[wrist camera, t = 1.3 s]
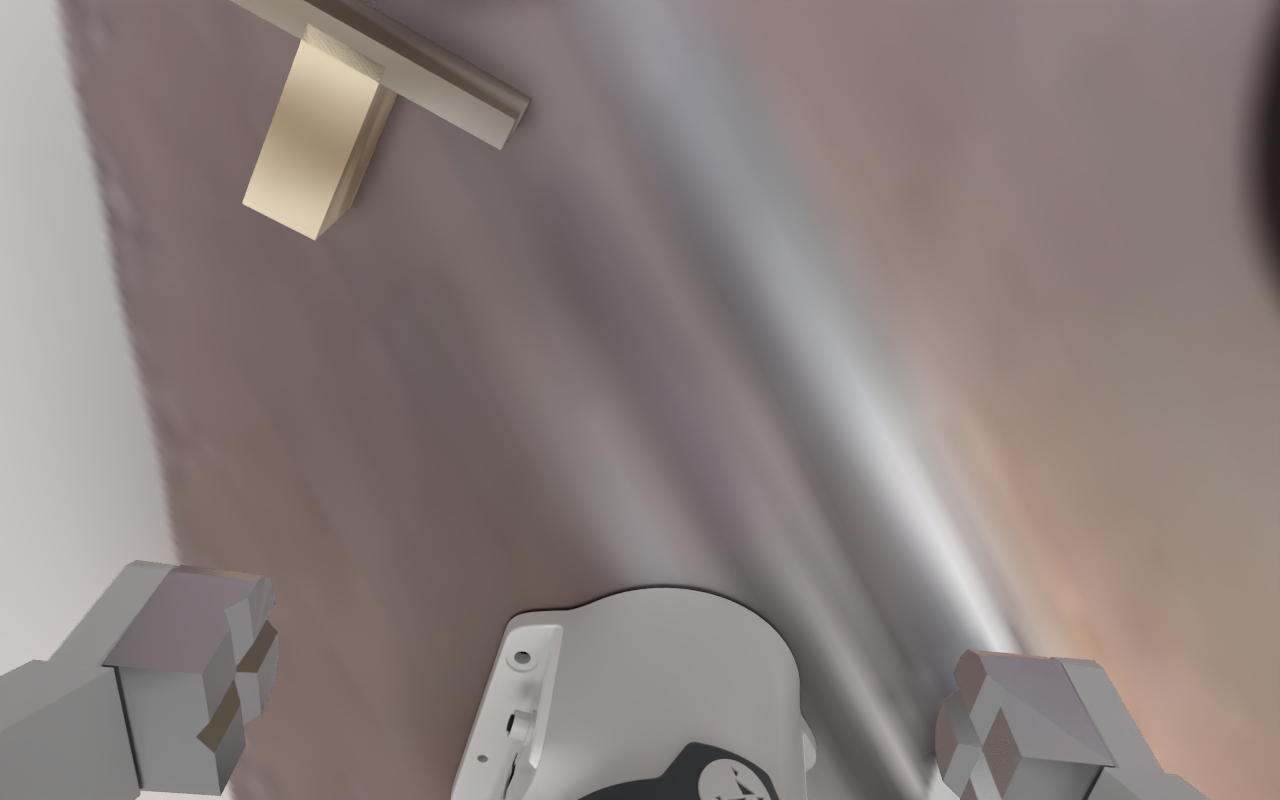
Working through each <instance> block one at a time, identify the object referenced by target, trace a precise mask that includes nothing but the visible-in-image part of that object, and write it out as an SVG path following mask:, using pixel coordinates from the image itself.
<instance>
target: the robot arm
mask: <svg viewBox="0 0 1280 800" xmlns="http://www.w3.org/2000/svg"><path fill="white" fill-rule="evenodd" d="M274 604H275V598H274V591H273V584H272V580H270V579H269V578H268V577H266V576H263V575H255V574H247V573H239V572H231V571H224V570H216V569H208V568H200V567H193V566H185V565H180V566H176V565H170V564H162V563H154V562H146V561H139V560H136V561H134V562H132V563H130V564H128V565H126V566H125V567H123V568H122V569H121V571H120V572H119V573H118V574H117V576H116V577H115V578H114V579H113V581H112V582H111V583H110V584H109V586H108V587H107V588H106V589H105V590H104V592H103V593H102V594H101V595H100V597H99V598H98V599H97V600H96V602H95V603H94V604H93V605H92V606H91V608H90V609H89V610H88V611H87V613H86V614H85V615H84V616H83V618H82V619H81V620H80V621H79V623H78V624H77V625H76V626H75V627H74V629H73V630H72V631H71V632H70V634H69V635H68V636H67V637H66V638H65V640H64V641H63V642H62V643H61V645H60V646H59V647H58V648H57V650H56V651H55V652H54V653H53V654H52V656H51V657H50V658H49V659H48V661H41V660H32V661H30V662H28V663H26V664H24V665H22V666H20V667H18V668H16V669H14V670H12V671H10V672H8V673H6V674H4V675H2V676H0V800H135V799H136V798H137V797H139V796H140V790H141V791H156V792H171V793H172V792H173V793H187V794H201V795H217V796H221V794H222V792H223V790H224V788H225V786H226V784H227V782H228V780H229V778H230V776H231V774H232V772H233V770H234V768H235V766H236V764H237V762H238V760H239V758H240V756H241V754H242V752H243V750H244V748H245V746H246V745H245V736H244V728H243V726H244V725H245V724H247V723H248V722H250V721H251V720H253V719H254V718H256V717H257V716H259V715H260V714H261V713H262V711H263V709H264V707H265V705H266V703H267V701H268V698H269V696H270V694H271V691H272V687H273V684H274V680H275V676H276V672H277V669H278V658H279V639H278V632H277V631H276V630H275V629H274V627H273V626H272V625H271V624H270V623H269V622H268V621H267V620H266V619H267V617H268V615H269V613H270V612H271V610H272V608H273V606H274ZM520 651H523V652H527V653H528V654H522V653H519V652H520ZM954 675H955V678H956V681H957V684H958V686H959V690H958V691H956V692H955V693H953V694H952V695H951V696H949V697H948V698H946V699H945V700H943V703H942V706H941V709H940V712H939V715H938V718H937V721H936V733H935V750H936V757H937V763H938V767H939V770H940V773H941V777H942V780H943V782H944V783H945V784H946V785H947V786H948V787H949V788H950V789H951V790H952V791H953V792H954V793H955V794H956V795H957V796H958V797H959V798H960V800H1210V799H1208V798H1207V797H1206V796H1205V795H1203V794H1202V793H1201V792H1199V791H1198V790H1197V789H1195V788H1194V787H1193V786H1192V785H1190V784H1189V783H1188V782H1186V781H1185V780H1184V779H1182V778H1181V777H1180V776H1179V775H1175V774H1166V773H1164V771H1163V770H1162V768H1161V766H1160V765H1159V763H1158V761H1157V759H1156V758H1155V756H1154V754H1153V753H1152V751H1151V749H1150V747H1149V746H1148V744H1147V742H1146V741H1145V739H1144V737H1143V735H1142V734H1141V732H1140V730H1139V729H1138V727H1137V725H1136V723H1135V722H1134V720H1133V718H1132V717H1131V715H1130V713H1129V711H1128V710H1127V708H1126V706H1125V705H1124V703H1123V701H1122V699H1121V698H1120V696H1119V694H1118V693H1117V691H1116V689H1115V687H1114V686H1113V684H1112V682H1111V681H1110V679H1109V677H1108V675H1107V674H1106V672H1105V670H1104V669H1103V668H1102V667H1101V666H1100V665H1099V664H1097V663H1096V662H1095V661H1092V660H1081V659H1069V658H1058V657H1051V658H1047V657H1040V656H1030V655H1020V654H1010V653H999V652H989V651H979V650H967V651H966V652H965V653H964V654H963V655H962V656H961V657H960V659H959V662H958V664H957V667H956V669H955V672H954ZM816 758H817V757H816V741H815V738H814V736H813V733H812V731H811V730H810V728H809V726H808V724H807V723H806V721H805V720H804V718H803V716H802V715H801V711H800V679H799V673H798V669H797V665H796V662H795V660H794V657H793V655H792V653H791V651H790V649H789V648H788V646H787V645H786V643H785V642H784V640H783V639H782V638H781V636H780V635H779V634H778V633H777V632H776V631H775V630H774V629H773V628H772V627H771V626H770V625H769V624H768V623H767V622H766V621H764V620H763V619H762V618H761V617H759V616H758V615H756V614H755V613H753V612H752V611H750V610H748V609H746V608H745V607H743V606H741V605H739V604H737V603H734V602H732V601H730V600H727V599H725V598H722V597H719V596H716V595H712V594H709V593H704V592H700V591H694V590H688V589H678V588H650V589H640V590H634V591H628V592H624V593H620V594H616V595H612V596H609V597H606V598H603V599H601V600H598V601H596V602H593V603H591V604H588V605H585V606H583V607H579V608H576V609H572V610H568V611H540V612H530V613H524V614H520V615H518V616H516V617H514V618H513V619H511V620H510V622H509V623H508V625H507V627H506V629H505V632H504V635H503V638H502V641H501V644H500V647H499V650H498V653H497V656H496V659H495V662H494V665H493V667H492V670H491V673H490V676H489V679H488V682H487V685H486V688H485V691H484V694H483V697H482V700H481V703H480V706H479V709H478V712H477V714H476V717H475V720H474V723H473V726H472V729H471V732H470V735H469V738H468V741H467V744H466V747H465V750H464V753H463V756H462V759H461V761H460V764H459V767H458V770H457V773H456V776H455V779H454V782H453V786H452V791H451V799H450V800H807V783H806V772H807V771H808V770H810V769H811V768H812V767H813V766H814V764H815V762H816Z"/></svg>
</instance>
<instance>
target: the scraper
mask: <svg viewBox="0 0 1280 800" xmlns="http://www.w3.org/2000/svg"><path fill="white" fill-rule="evenodd" d="M230 1H232V2H234V3H236V4H237V5H239V6H241V7H243V8H245V9H246V10H248V11H250V12H252V13H254V14H255V15H257V16H259V17H261V18H263V19H264V20H266V21H268V22H270V23H272V24H274V25H275V26H277V27H279V28H281V29H283V30H284V31H286V32H288V33H290V34H292V35H293V36H295V37H297V38H299V39H301V42H300V45H299V48H298V51H297V53H296V56H295V59H294V62H293V65H292V67H291V70H290V73H289V76H288V78H287V81H286V84H285V87H284V89H283V92H282V95H281V98H280V100H279V103H278V106H277V109H276V111H275V114H274V117H273V120H272V122H271V125H270V128H269V131H268V133H267V136H266V139H265V142H264V145H263V147H262V150H261V153H260V156H259V158H258V161H257V164H256V167H255V169H254V172H253V175H252V178H251V180H250V183H249V186H248V189H247V191H246V194H245V197H244V200H243V202H242V204H244V205H246V206H248V207H250V208H252V209H254V210H256V211H258V212H260V213H262V214H264V215H266V216H268V217H270V218H272V219H274V220H276V221H278V222H280V223H281V224H283V225H285V226H287V227H289V228H291V229H293V230H295V231H297V232H299V233H301V234H303V235H305V236H307V237H309V238H311V239H313V240H316V239H317V238H318V237H319V236H320V235H321V234H322V233H324V232H325V231H326V230H327V229H328V228H329V227H330V226H331V225H332V224H333V223H334V222H336V221H337V220H338V219H339V218H340V217H341V216H342V215H343V214H344V213H345V212H347V211H348V210H349V209H350V208H351V205H352V203H353V201H354V198H355V196H356V193H357V191H358V189H359V186H360V184H361V182H362V179H363V177H364V174H365V172H366V170H367V167H368V165H369V163H370V160H371V158H372V155H373V153H374V151H375V148H376V146H377V144H378V141H379V139H380V136H381V134H382V132H383V129H384V127H385V124H386V122H387V120H388V117H389V115H390V113H391V110H392V108H393V105H394V103H395V101H396V98H397V96H398V94H400V95H402V96H403V97H405V98H407V99H409V100H411V101H413V102H414V103H416V104H418V105H420V106H422V107H423V108H425V109H427V110H429V111H431V112H432V113H434V114H436V115H438V116H440V117H441V118H443V119H445V120H447V121H449V122H450V123H452V124H454V125H456V126H458V127H459V128H461V129H463V130H465V131H467V132H468V133H470V134H472V135H474V136H476V137H478V138H479V139H481V140H483V141H485V142H487V143H488V144H490V145H492V146H494V147H496V148H497V149H499V150H502V148H503V147H504V145H505V144H506V143H507V141H508V140H509V138H510V137H511V136H512V134H513V133H514V131H515V130H516V128H517V127H518V125H519V123H520V121H521V119H522V117H523V115H524V113H525V111H526V109H527V107H528V105H529V103H530V101H531V99H532V98H530V97H528V96H526V95H525V94H523V93H521V92H519V91H518V90H516V89H514V88H512V87H511V86H509V85H507V84H505V83H504V82H502V81H500V80H498V79H497V78H495V77H493V76H491V75H490V74H488V73H486V72H484V71H483V70H481V69H479V68H477V67H476V66H474V65H472V64H470V63H469V62H467V61H465V60H463V59H462V58H460V57H458V56H456V55H455V54H453V53H451V52H449V51H448V50H446V49H444V48H442V47H441V46H439V45H437V44H435V43H434V42H432V41H430V40H428V39H427V38H425V37H423V36H421V35H420V34H418V33H416V32H414V31H413V30H411V29H409V28H407V27H406V26H404V25H402V24H400V23H399V22H397V21H395V20H393V19H392V18H390V17H388V16H386V15H385V14H383V13H381V12H379V11H378V10H376V9H374V8H372V7H371V6H369V5H367V4H365V3H364V2H362V1H360V0H230Z"/></svg>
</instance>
